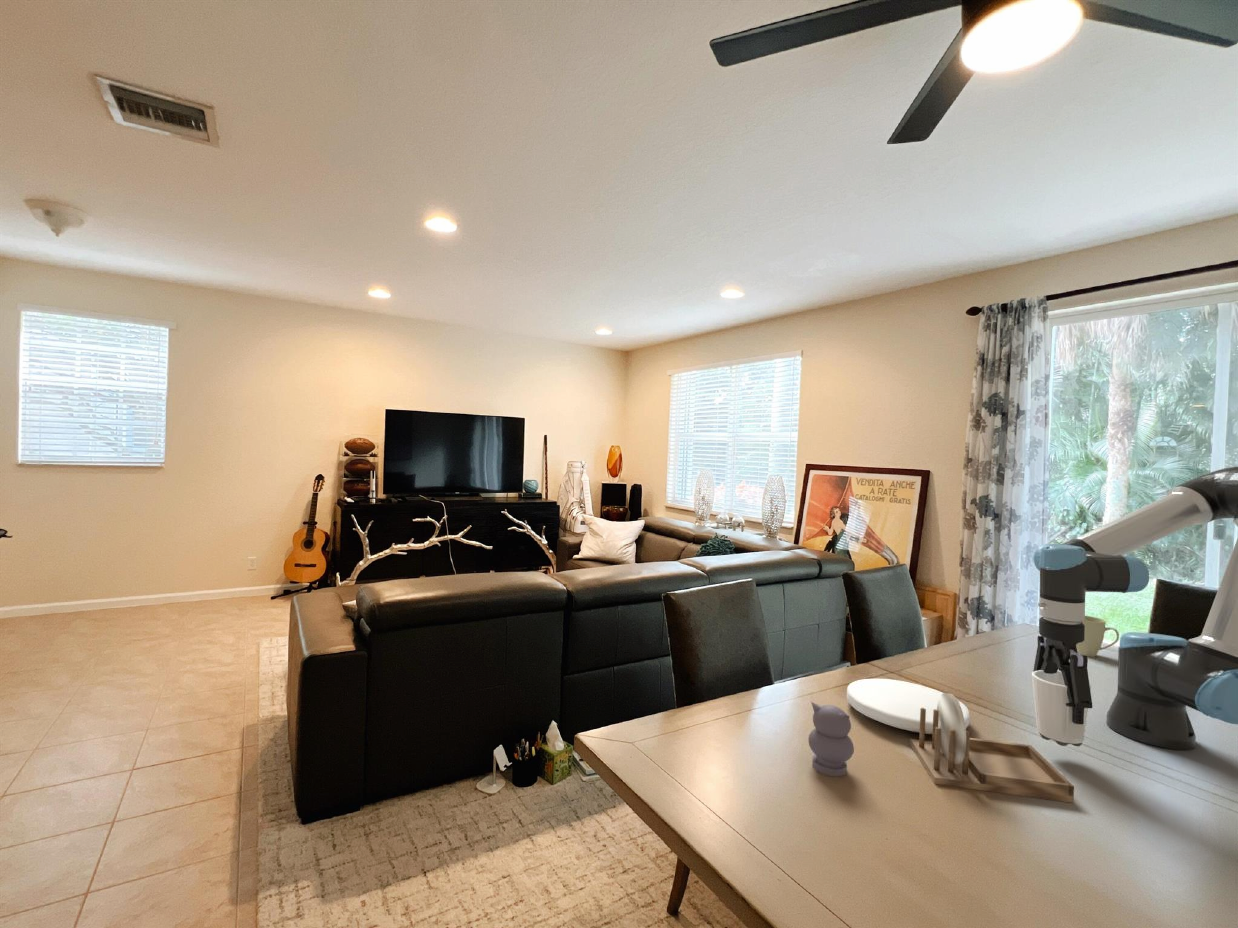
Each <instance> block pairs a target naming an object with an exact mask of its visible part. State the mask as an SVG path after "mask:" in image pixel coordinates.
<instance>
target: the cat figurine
mask: <svg viewBox="0 0 1238 928" xmlns="http://www.w3.org/2000/svg"><path fill="white" fill-rule="evenodd" d="M811 705H812V710H813V715H812V722H813V726H814V728H813V729H812V730H811V731H810V733H809V735H808V738H807V739H808V746H809V748H810V750H811V751H812V752H813V756H812V762H811V763H812V765H811V766H812V767H813V768H814V769H813V770H816V771H817V772H819V773H820V774H822V775H824V776H825V775H826V776H830V777H843V776H844V775H846V774H847V769H848V764H847V761H850V759H851V758H852V757H853V754H854V751H855V747H854V743H853V741H852V739H851V737H850V736H849V733H850V732H851V729H852V723H851V719H850V715H848V714H847V713H846V712H845V711H844V710H843V709H841V708H840V707H838V706H836V705H832V704H823V705H819V704H817V703H815V702H814V701H811Z"/></svg>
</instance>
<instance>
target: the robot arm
mask: <svg viewBox="0 0 1238 928" xmlns="http://www.w3.org/2000/svg"><path fill="white" fill-rule="evenodd" d="M1223 519H1224V520H1225V519H1233V523H1234V525H1236V527H1237V528H1238V466H1232V467H1231V466H1230V467H1225V468H1222V469H1218V470H1214V471H1211V472H1208V473H1205V474H1203V475H1200V476H1196V477H1195V478H1192V479H1190V480H1187V481H1185V482H1182V483H1180V484H1178V485H1176V486H1174V487H1172V488H1170V489H1169V490H1168V491H1167V493H1166V496H1164V497H1161V498H1159V499H1157V500H1155V501H1153V502H1151V503H1148V504H1147V505H1144V506H1142V507H1140V508H1138V509H1135V510H1133V511H1131V512H1129V513H1127V514H1125V515H1123V516H1121V517H1117V518H1116V519H1114V520H1112V521H1109V522H1108V523H1105V524H1103V525H1101V526H1099V527H1096V528H1094V529H1092V530H1089V531H1088V532H1085V533H1084V534H1082V535H1079V536H1077V537H1075V538H1073V539H1070V540H1068V541H1066V542H1064V543H1061V544H1057V543H1045V544H1042V545H1040V546H1039V547H1038V548H1036V550H1035V551H1034V554H1033V564H1034V566H1035V567H1036V568H1035V569H1037V570H1038V572H1039V602H1038V603H1037V606H1038V607H1039V615H1040V616H1041V617H1040V618H1039V619H1038V634H1039V635H1037V648H1036V654H1035V660H1034V664H1033V671H1032V672H1034V671H1038V670H1043V671H1044V673H1048V674H1053V673H1057V671H1058V672H1062V676H1063V680H1064V684H1065V686H1067V695H1068V699H1069V703H1066V737H1067V738H1072V739H1083V741H1084V739H1085V733H1084V709H1085V708H1088V709H1093V700H1092V694H1091V693H1092V692H1091V690H1090V685H1089V683H1090V679H1089V672H1088V662H1089V661H1088V658H1089V657H1088V656H1084V655H1081V654H1078V651H1077V647H1076V645H1077V644H1078V643H1081V642H1083V641H1084V639H1085V625H1084V624H1083V623H1082V622H1083V621H1085V616H1086V593H1091V592H1093V593H1095V592H1096V593H1098V592H1099V593H1122V594H1126V593H1137V592H1140V591H1141V592H1142V591H1143V590H1144V589H1146V588H1147V586H1148V584H1149V582H1150V570H1149V569H1148V566H1147V564H1146V563H1145V562H1144V561H1142V560H1141V559H1140V558H1138V557H1136V556H1132V555H1130V556H1129V555H1127V554H1130V553H1131V552H1134V551H1137V550H1138V549H1141V548H1142V547H1143V548H1144V547H1145V546H1147V545H1149V544H1152V543H1154V542H1156V541H1158V540H1161V539H1163V538H1165V537H1168V536H1169V535H1172V534H1174V533H1176V532H1179V531H1181V530H1183V529H1185V528H1187V527H1190V526H1192V525H1195V526H1197V525H1199V526H1201V525H1203V526H1204V525H1206V524H1208V523H1211V522H1212V521H1216V520H1223ZM1119 638H1120V639H1119V646H1118V648H1117V649H1118V650H1117V651H1118V652H1117V653H1118V657H1117V658H1118V662H1117V663H1118V664H1117V692H1116V695H1115V697H1114V699H1113V701H1112V702H1111V705H1110V707H1109V709H1108V711H1106V718H1105V719H1106V720H1105V721H1106V725H1107V726H1108V727H1109V728H1110V729H1111V730H1113V731H1114V732H1115V733H1118V734H1120V735H1122V736H1124V737H1127V738H1128V739H1132V740H1134V741H1138V742H1141V743H1144V744H1147V745H1151V746H1155V747H1160V748H1164V749H1171V750H1182V751H1186V750H1193V749H1195V748H1196V742H1197V741H1196V739H1197V737H1196V733H1195V729H1194V728H1193V725H1192V721H1191V719H1190V717H1189V714H1188V712H1187V707H1189V708H1191V709H1193V710H1195V711H1197V712H1199V713H1202V714H1203V715H1205V716H1207V717H1210V718H1212V719H1216V720H1220V721H1222V722H1224V723H1228V724H1231V725H1238V538H1237V539H1236V542H1235V545H1234V546H1233V549H1232V551H1231V555H1230V558H1229V560H1228V563H1227V565H1226V569H1225V570H1224V573H1223V576H1222V579H1221V582H1220V583H1219V587H1218V590H1217V592H1216V594H1215V597H1214V599H1213V602H1212V605H1211V608H1210V610H1209V613H1208V616H1207V618H1206V620H1205V624H1204V627H1203V628H1202V632H1201V633H1200V635H1199V636H1197V637H1194V638H1189V639H1188V640H1187V639H1186V638H1183V637H1180V636H1174V635H1166V634H1160V633H1149V632H1134V631H1133V632H1125V633H1122V635H1121V636H1120V637H1119Z"/></svg>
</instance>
